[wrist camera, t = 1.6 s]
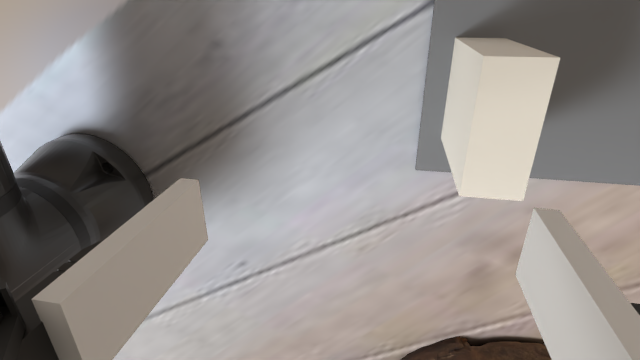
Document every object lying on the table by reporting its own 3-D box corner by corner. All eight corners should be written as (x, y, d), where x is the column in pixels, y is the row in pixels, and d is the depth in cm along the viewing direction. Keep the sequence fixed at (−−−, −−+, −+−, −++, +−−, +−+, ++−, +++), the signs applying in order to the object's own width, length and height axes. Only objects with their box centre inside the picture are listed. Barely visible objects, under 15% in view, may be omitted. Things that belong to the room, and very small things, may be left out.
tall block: (440, 137, 36) (459, 196, 25) (455, 37, 32) (483, 56, 21) (485, 140, 35) (523, 201, 25) (505, 38, 31) (560, 57, 21)
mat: (415, 168, 38) (415, 169, 38) (435, -9, 31) (436, -9, 31) (661, 185, 34) (664, 187, 34) (746, -11, 28) (751, -11, 27)
